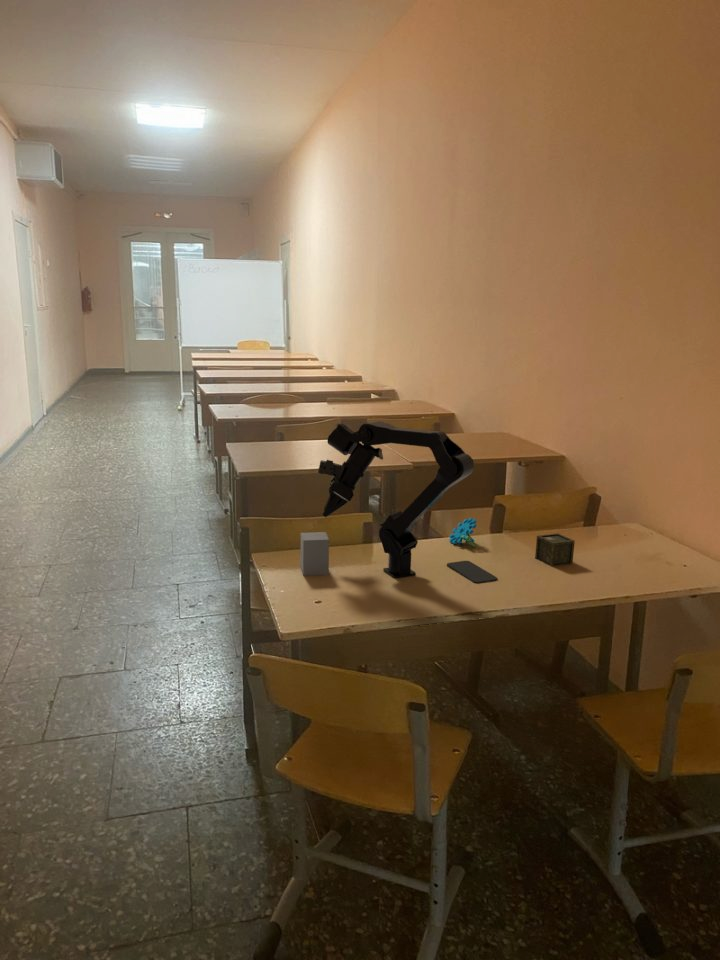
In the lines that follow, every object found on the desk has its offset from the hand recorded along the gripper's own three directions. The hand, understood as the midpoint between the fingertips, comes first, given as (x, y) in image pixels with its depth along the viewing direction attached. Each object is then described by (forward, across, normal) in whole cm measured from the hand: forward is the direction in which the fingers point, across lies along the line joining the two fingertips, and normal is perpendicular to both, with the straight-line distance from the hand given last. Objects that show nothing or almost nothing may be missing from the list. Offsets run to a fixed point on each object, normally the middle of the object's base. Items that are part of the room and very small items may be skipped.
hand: (324, 513), depth 187 cm
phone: (-8, +2, +41) cm, 42 cm away
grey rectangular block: (+14, +3, +6) cm, 15 cm away
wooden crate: (-22, -9, +62) cm, 66 cm away
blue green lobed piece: (-11, -23, +41) cm, 48 cm away
